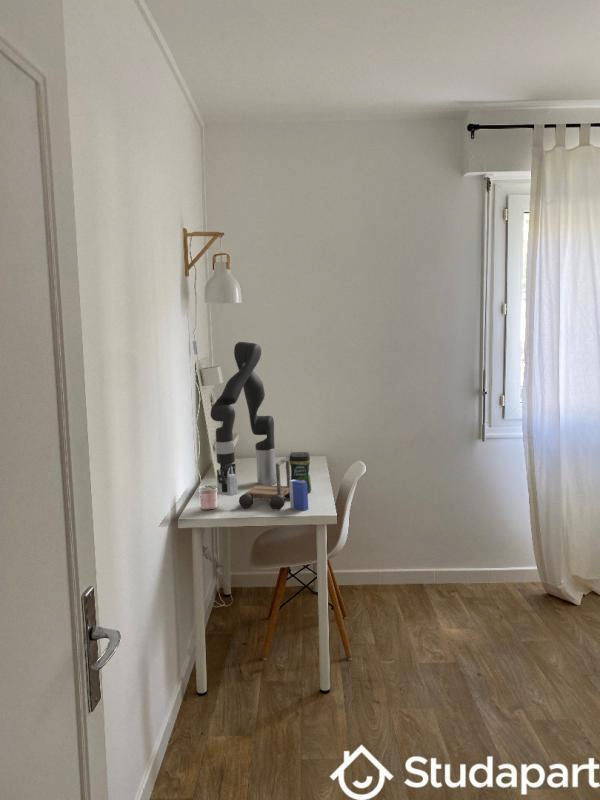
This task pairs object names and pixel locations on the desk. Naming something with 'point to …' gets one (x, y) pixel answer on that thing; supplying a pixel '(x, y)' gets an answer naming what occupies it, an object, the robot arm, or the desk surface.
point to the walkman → (298, 494)
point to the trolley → (269, 490)
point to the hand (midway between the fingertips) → (227, 490)
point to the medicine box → (229, 485)
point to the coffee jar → (300, 467)
